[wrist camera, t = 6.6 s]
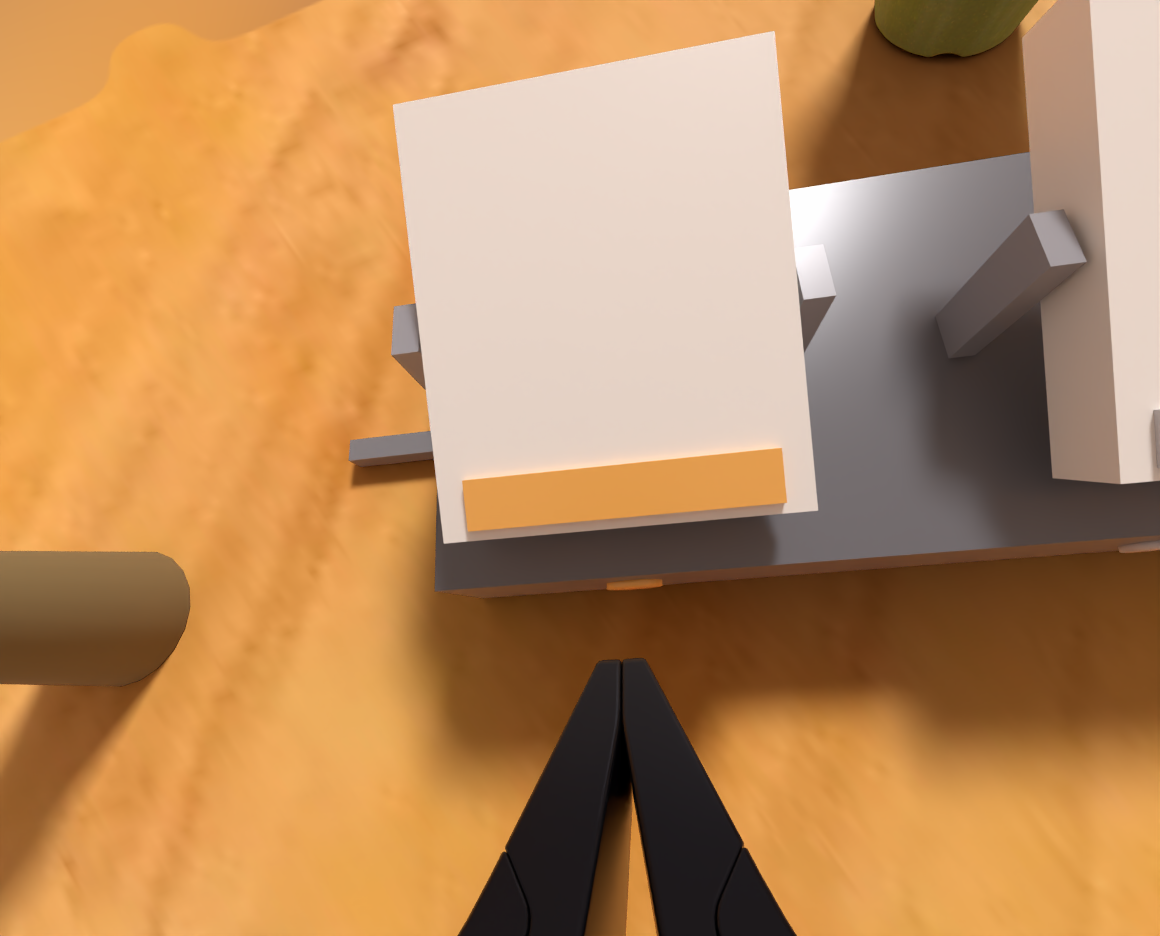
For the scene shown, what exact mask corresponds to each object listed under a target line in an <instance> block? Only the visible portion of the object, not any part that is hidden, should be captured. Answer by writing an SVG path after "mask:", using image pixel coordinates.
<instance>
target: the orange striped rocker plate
mask: <svg viewBox="0 0 1160 936" xmlns="http://www.w3.org/2000/svg"><path fill="white" fill-rule="evenodd" d="M393 111H394V119H395V128H396V136H397V145H398V154H399V162H400V171H401V180H402V188H403V197H404V205H405V214H406V223H407V231H408V240H409V249H410V257H411V266H412V274H413V283H414V292H415V300H416V309H417V318H418V326H419V335H420V344H421V352H422V361H423V369H424V378H425V387H426V395H427V404H428V413H429V421H430V430H431V438H432V447H433V456H434V464H435V473H436V482H437V490H438V499H439V507H440V516H441V525H442V533H443V542H444V544H446V543H457V542H468V541H480V540H491V539H502V538H514V537H525V536H536V535H548V534H559V533H570V532H582V531H593V530H604V529H616V528H627V527H638V526H650V525H661V524H672V523H684V522H695V521H706V520H718V519H729V518H740V517H752V516H763V515H774V514H786V513H797V512H808V511H818V503H817V492H816V481H815V470H814V459H813V448H812V437H811V426H810V415H809V404H808V393H807V382H806V371H805V360H804V349H803V338H802V327H801V316H800V305H799V294H798V283H797V272H796V262H795V251H794V240H793V229H792V218H791V207H790V196H789V185H788V174H787V163H786V152H785V141H784V130H783V119H782V108H781V97H780V86H779V75H778V64H777V53H776V42H775V31H772V32H767V33H761V34H756V35H751V36H746V37H741V38H736V39H730V40H725V41H720V42H715V43H710V44H705V45H699V46H694V47H689V48H684V49H679V50H674V51H668V52H663V53H658V54H653V55H648V56H643V57H637V58H632V59H627V60H622V61H617V62H612V63H606V64H601V65H596V66H591V67H586V68H581V69H575V70H570V71H565V72H560V73H555V74H550V75H544V76H539V77H534V78H529V79H524V80H519V81H513V82H508V83H503V84H498V85H493V86H488V87H482V88H477V89H472V90H467V91H462V92H457V93H451V94H446V95H441V96H436V97H431V98H426V99H420V100H415V101H410V102H405V103H400V104H395V105H393Z"/></svg>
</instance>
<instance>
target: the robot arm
mask: <svg viewBox="0 0 1160 936" xmlns="http://www.w3.org/2000/svg"><path fill="white" fill-rule="evenodd" d="M632 790H633V797H634V803H635V809H636V815H637V821H638V827H639V833H640V839H641V845H642V851H643V857H644V863H645V868H646V874H647V880H648V886H649V892H650V898H651V904H652V910H653V916H654V922H655V928H656V933H657V936H797V935H796V934H795V932H794V930H793V929H792V927H791V926H790V924H789V923H788V921H787V919H786V918H785V916H784V914H783V912H782V911H781V909H780V907H779V905H778V904H777V902H776V900H775V898H774V897H773V895H772V893H771V891H770V890H769V888H768V886H767V884H766V883H765V881H764V879H763V877H762V875H761V874H760V872H759V870H758V868H757V866H756V864H755V862H754V860H753V859H752V857H751V855H750V853H749V851H748V849H747V848H744V843H743V840H742V839H741V837H740V835H739V833H738V831H737V829H736V827H735V825H734V824H733V822H732V820H731V818H730V816H729V814H728V812H727V810H726V809H725V807H724V805H723V803H722V801H721V799H720V797H719V796H718V794H717V792H716V790H715V788H714V786H713V784H712V782H711V781H710V779H709V777H708V775H707V773H706V771H705V769H704V767H703V766H702V764H701V762H700V760H699V758H698V756H697V754H696V752H695V751H694V749H693V747H692V745H691V743H690V741H689V739H688V737H687V736H686V734H685V732H684V730H683V728H682V726H681V724H680V722H679V721H678V719H677V717H676V715H675V713H674V711H673V709H672V707H671V706H670V704H669V702H668V700H667V698H666V696H665V694H664V692H663V691H662V689H661V687H660V685H659V683H658V681H657V679H656V677H655V676H654V674H653V672H652V670H651V668H650V666H649V664H648V663H647V661H646V660H645V659H644V658H633V659H624V660H623V662H621V661H620V660H617V659H616V660H602V661H599V662H598V663H597V664H596V666H595V668H594V670H593V672H592V674H591V676H590V678H589V680H588V682H587V684H586V686H585V688H584V690H583V692H582V694H581V696H580V698H579V700H578V702H577V704H576V706H575V708H574V710H573V712H572V714H571V716H570V718H569V720H568V722H567V724H566V726H565V728H564V730H563V732H562V734H561V736H560V738H559V740H558V742H557V744H556V746H555V748H554V750H553V752H552V754H551V756H550V758H549V760H548V762H547V764H546V766H545V768H544V770H543V772H542V774H541V776H540V778H539V780H538V782H537V784H536V786H535V788H534V790H533V792H532V794H531V796H530V798H529V800H528V802H527V804H526V806H525V808H524V810H523V812H522V814H521V816H520V818H519V820H518V822H517V824H516V826H515V828H514V830H513V832H512V834H511V836H510V838H509V840H508V842H507V844H506V846H505V850H506V852H507V853H506V852H502V854H501V855H500V857H499V859H498V861H497V863H496V866H495V868H494V870H493V872H492V874H491V876H490V878H489V879H488V881H487V883H486V885H485V887H484V889H483V891H482V893H481V894H480V896H479V898H478V900H477V902H476V904H475V906H474V908H473V909H472V911H471V913H470V915H469V917H468V919H467V921H466V922H465V924H464V926H463V927H462V929H461V931H460V932H459V934H458V936H626V919H627V899H628V879H629V860H630V840H631V821H632Z"/></svg>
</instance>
